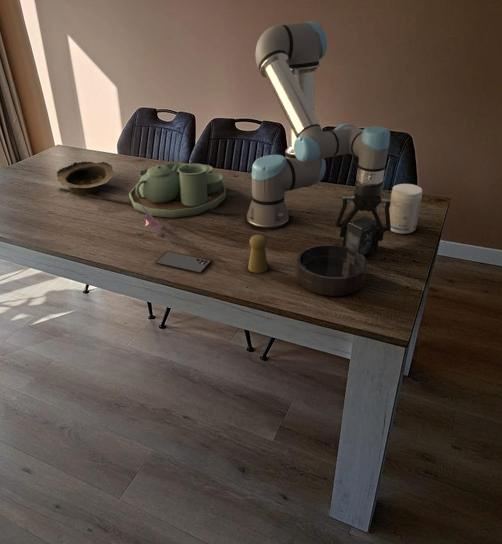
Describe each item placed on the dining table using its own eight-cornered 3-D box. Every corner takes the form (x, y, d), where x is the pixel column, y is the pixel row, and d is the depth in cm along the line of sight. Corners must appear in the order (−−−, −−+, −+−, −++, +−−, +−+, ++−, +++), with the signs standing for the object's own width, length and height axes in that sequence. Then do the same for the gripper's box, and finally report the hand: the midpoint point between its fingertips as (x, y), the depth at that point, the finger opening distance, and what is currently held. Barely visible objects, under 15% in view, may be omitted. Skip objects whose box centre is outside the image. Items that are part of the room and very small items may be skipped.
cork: (246, 264, 160) (246, 233, 154) (265, 262, 160) (265, 231, 154) (250, 273, 155) (250, 242, 149) (269, 271, 155) (270, 240, 149)
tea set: (240, 186, 215) (240, 148, 206) (199, 225, 185) (196, 183, 177) (160, 175, 231) (157, 140, 223) (110, 210, 202) (104, 171, 193)
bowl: (291, 293, 144) (293, 274, 141) (300, 259, 160) (301, 241, 157) (363, 301, 139) (366, 282, 135) (364, 266, 154) (367, 247, 151)
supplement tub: (400, 220, 179) (407, 181, 171) (421, 230, 172) (430, 190, 164) (379, 226, 176) (386, 187, 168) (400, 237, 168) (408, 196, 161)
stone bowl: (87, 174, 238) (85, 155, 233) (127, 187, 226) (126, 168, 221) (47, 192, 221) (44, 172, 216) (88, 207, 209) (85, 186, 204)
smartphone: (168, 251, 169) (210, 259, 162) (168, 253, 169) (210, 261, 162) (156, 262, 163) (200, 271, 156) (156, 263, 164) (200, 272, 157)
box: (357, 259, 157) (362, 228, 151) (343, 251, 161) (347, 222, 155) (374, 251, 160) (379, 221, 155) (360, 244, 164) (364, 215, 159)
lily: (151, 246, 176) (162, 223, 172) (123, 230, 178) (134, 206, 174) (163, 240, 187) (174, 218, 183) (137, 225, 189) (147, 203, 185)
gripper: (330, 183, 148) (323, 249, 160) (409, 188, 142) (396, 257, 154) (332, 174, 154) (325, 238, 166) (408, 178, 148) (395, 245, 160)
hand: (359, 247), depth 160 cm, fingers closed on box, 9 cm apart
